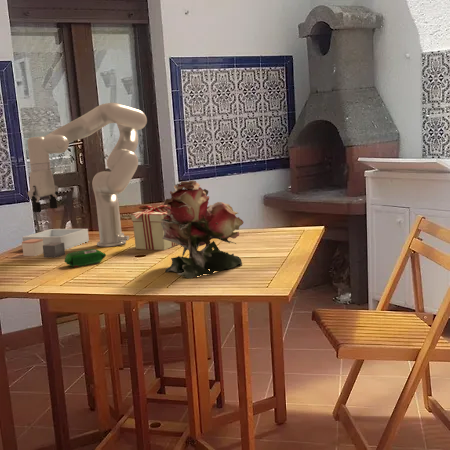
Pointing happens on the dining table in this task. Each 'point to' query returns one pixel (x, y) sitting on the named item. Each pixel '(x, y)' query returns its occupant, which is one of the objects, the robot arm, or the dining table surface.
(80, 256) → the snack package
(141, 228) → the gift box
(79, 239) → the tote
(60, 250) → the block
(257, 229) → the dining table surface
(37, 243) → the orange and beige cube
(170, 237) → the rose bouquet
